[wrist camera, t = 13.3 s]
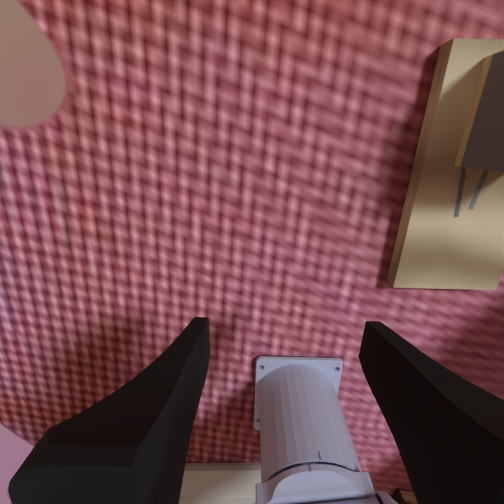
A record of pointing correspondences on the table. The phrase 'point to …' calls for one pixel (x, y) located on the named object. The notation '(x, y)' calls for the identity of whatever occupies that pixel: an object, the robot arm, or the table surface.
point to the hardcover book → (404, 497)
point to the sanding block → (485, 120)
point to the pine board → (451, 188)
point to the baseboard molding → (220, 483)
